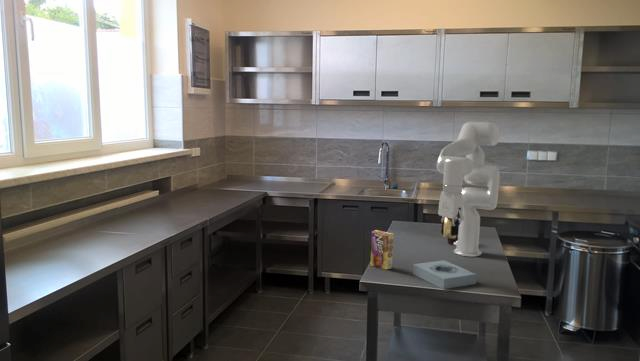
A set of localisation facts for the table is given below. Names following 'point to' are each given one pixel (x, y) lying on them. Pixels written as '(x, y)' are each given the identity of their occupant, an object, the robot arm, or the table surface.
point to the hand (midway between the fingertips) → (449, 233)
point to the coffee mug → (452, 239)
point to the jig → (444, 274)
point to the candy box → (382, 249)
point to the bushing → (447, 228)
